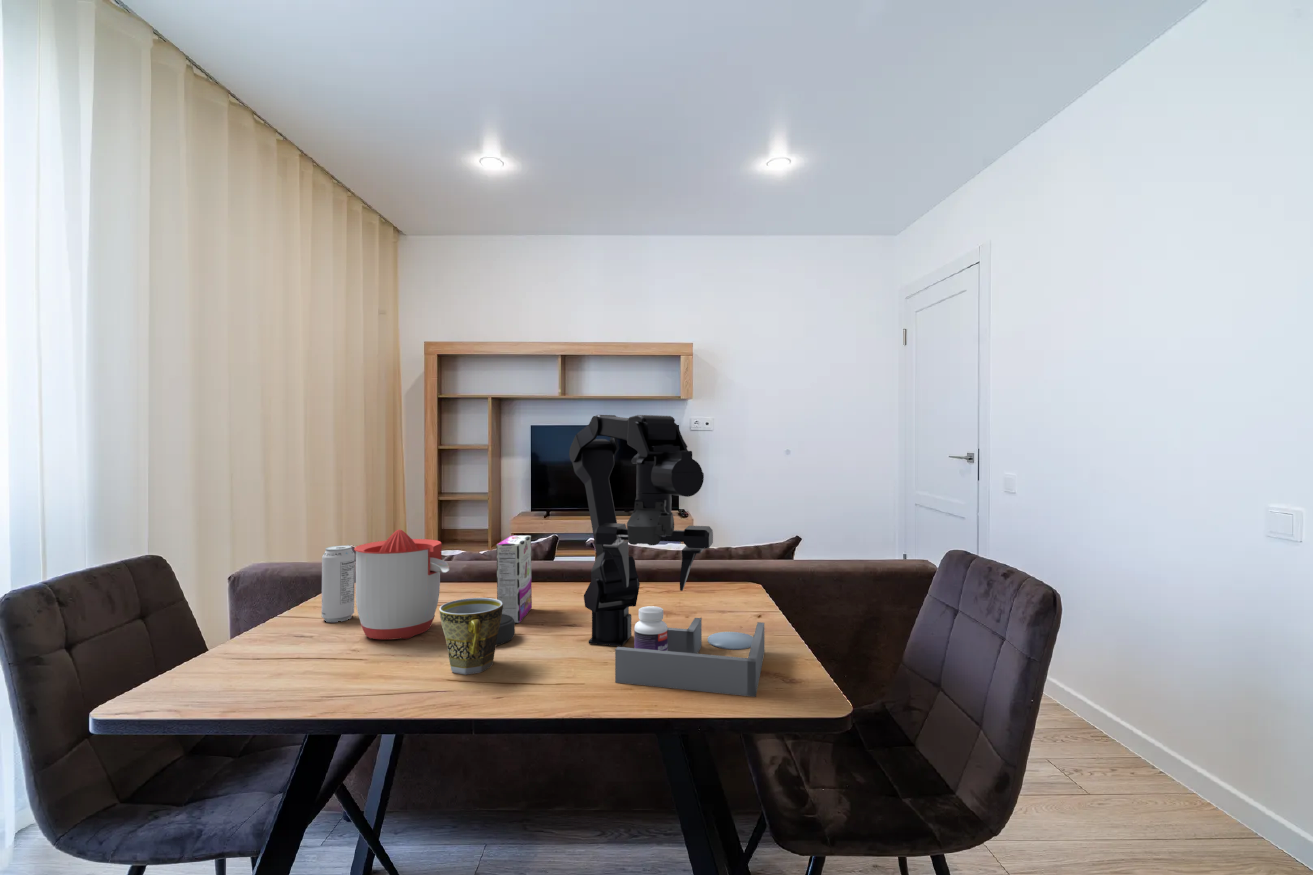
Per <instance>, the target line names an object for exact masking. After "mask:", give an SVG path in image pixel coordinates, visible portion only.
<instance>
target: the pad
mask: <svg viewBox="0 0 1313 875" xmlns="http://www.w3.org/2000/svg"><path fill="white" fill-rule="evenodd" d="M753 637H754V635H750V634H748V633H744V632H737V631H721V632H715V633H712V634H710V635H709V636H707V643H708V644H709V645H711V646H713V647H715V648H719V649H724V650H733V651H734V650H746V649H750V648H751V645H752V641H753Z"/></svg>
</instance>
